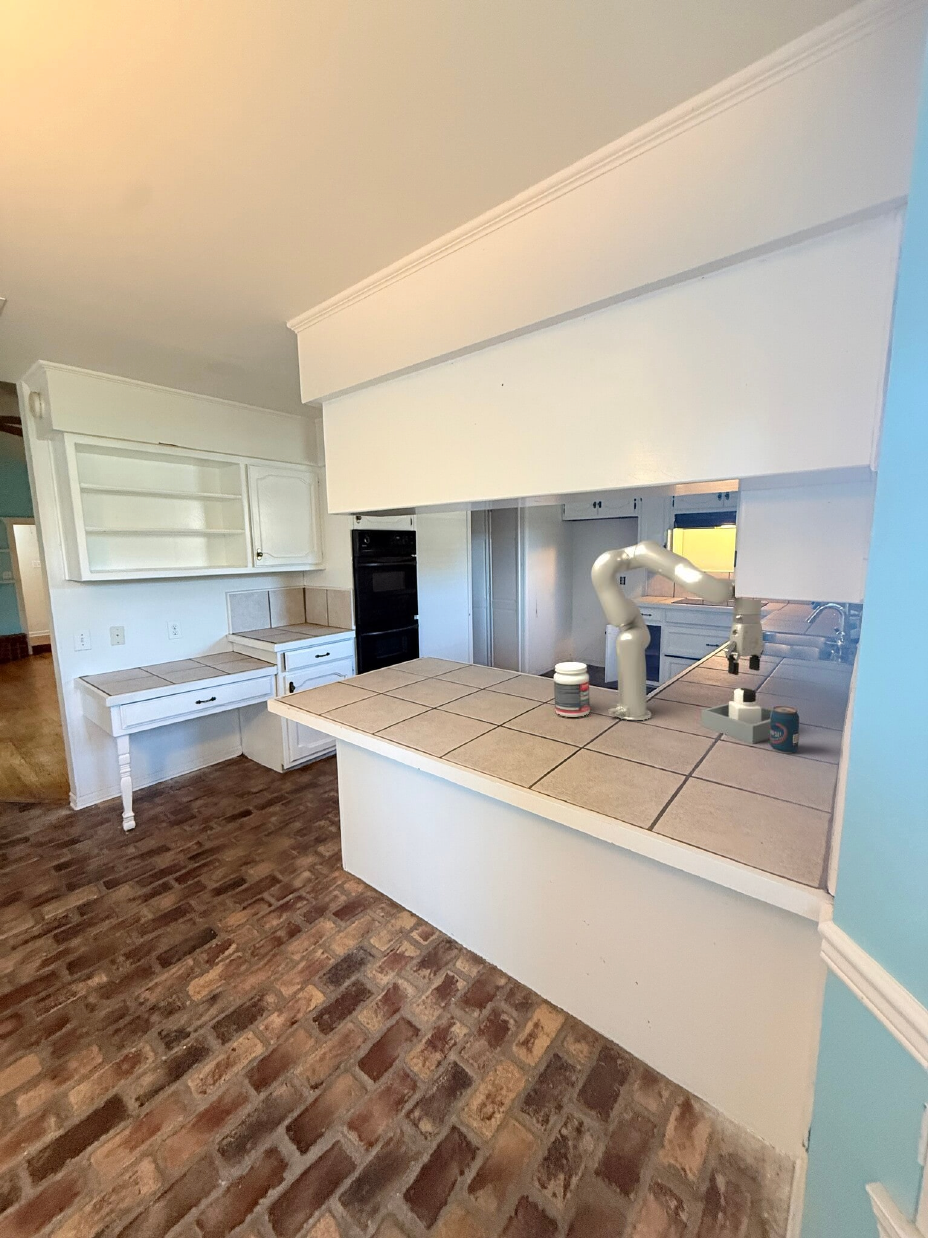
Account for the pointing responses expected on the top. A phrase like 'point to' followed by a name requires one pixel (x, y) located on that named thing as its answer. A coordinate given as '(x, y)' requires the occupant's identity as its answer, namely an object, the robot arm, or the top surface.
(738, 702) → the medicine bottle
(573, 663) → the supplement tub
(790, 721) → the soda can
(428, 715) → the top surface
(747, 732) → the bin
